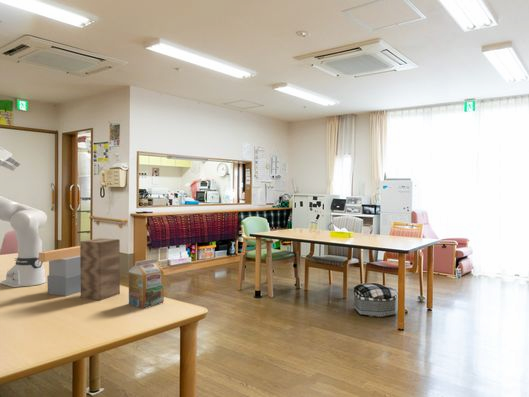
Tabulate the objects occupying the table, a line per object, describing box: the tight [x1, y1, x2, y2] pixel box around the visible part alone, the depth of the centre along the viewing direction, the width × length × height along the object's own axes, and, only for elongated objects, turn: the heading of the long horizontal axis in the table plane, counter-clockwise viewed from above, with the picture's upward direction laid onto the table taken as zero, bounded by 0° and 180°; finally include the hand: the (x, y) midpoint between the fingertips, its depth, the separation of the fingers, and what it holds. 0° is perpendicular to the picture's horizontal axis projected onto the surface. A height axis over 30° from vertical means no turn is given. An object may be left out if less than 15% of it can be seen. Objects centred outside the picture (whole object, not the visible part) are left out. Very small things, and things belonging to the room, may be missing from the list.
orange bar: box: [39, 245, 80, 263], centre depth 192 cm, size 4×24×4 cm, turn 158°
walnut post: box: [79, 237, 121, 301], centre depth 187 cm, size 12×12×26 cm
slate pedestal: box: [46, 255, 81, 297], centre depth 194 cm, size 12×12×17 cm
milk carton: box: [128, 258, 165, 309], centre depth 175 cm, size 11×11×19 cm
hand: (16, 167), depth 174 cm, fingers open, 8 cm apart
